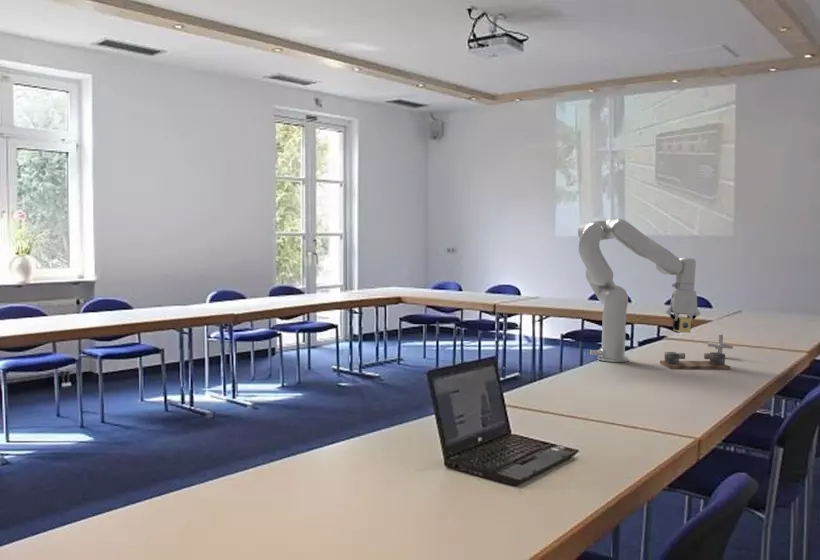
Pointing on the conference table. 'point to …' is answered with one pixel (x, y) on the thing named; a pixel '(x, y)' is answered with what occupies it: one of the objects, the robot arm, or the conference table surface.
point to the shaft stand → (715, 361)
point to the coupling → (684, 324)
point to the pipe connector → (720, 344)
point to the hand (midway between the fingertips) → (681, 329)
